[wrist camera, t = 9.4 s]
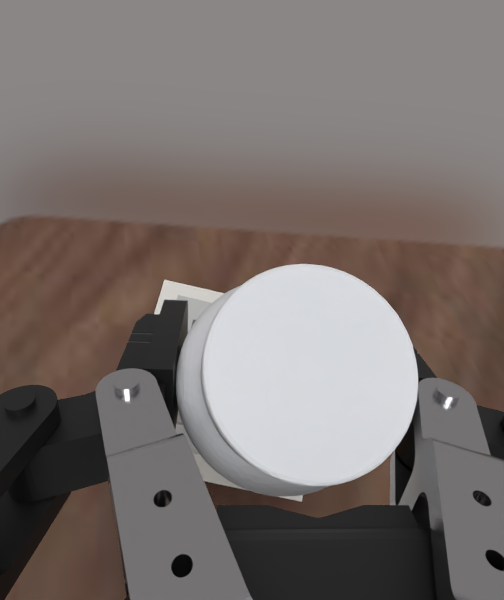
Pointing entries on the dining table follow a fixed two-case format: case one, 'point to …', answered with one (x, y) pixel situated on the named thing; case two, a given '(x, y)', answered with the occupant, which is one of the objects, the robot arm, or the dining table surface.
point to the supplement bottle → (297, 381)
